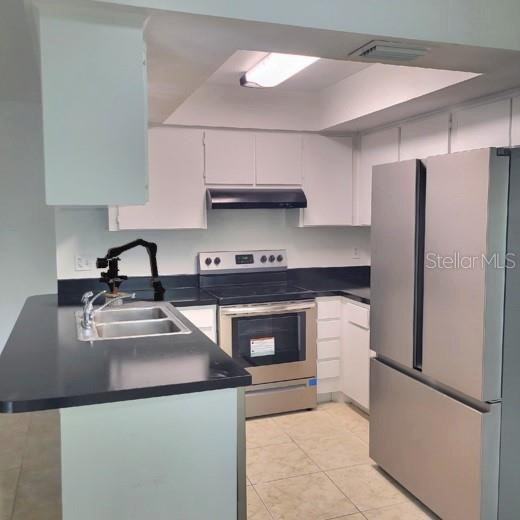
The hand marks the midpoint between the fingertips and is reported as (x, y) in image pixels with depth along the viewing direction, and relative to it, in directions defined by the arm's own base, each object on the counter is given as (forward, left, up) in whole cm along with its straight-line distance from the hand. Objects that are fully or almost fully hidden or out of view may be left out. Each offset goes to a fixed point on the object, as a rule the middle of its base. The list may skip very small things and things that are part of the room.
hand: (114, 292), depth 328 cm
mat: (-10, +14, -8) cm, 19 cm away
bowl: (0, 0, -8) cm, 8 cm away
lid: (0, 0, -2) cm, 2 cm away
